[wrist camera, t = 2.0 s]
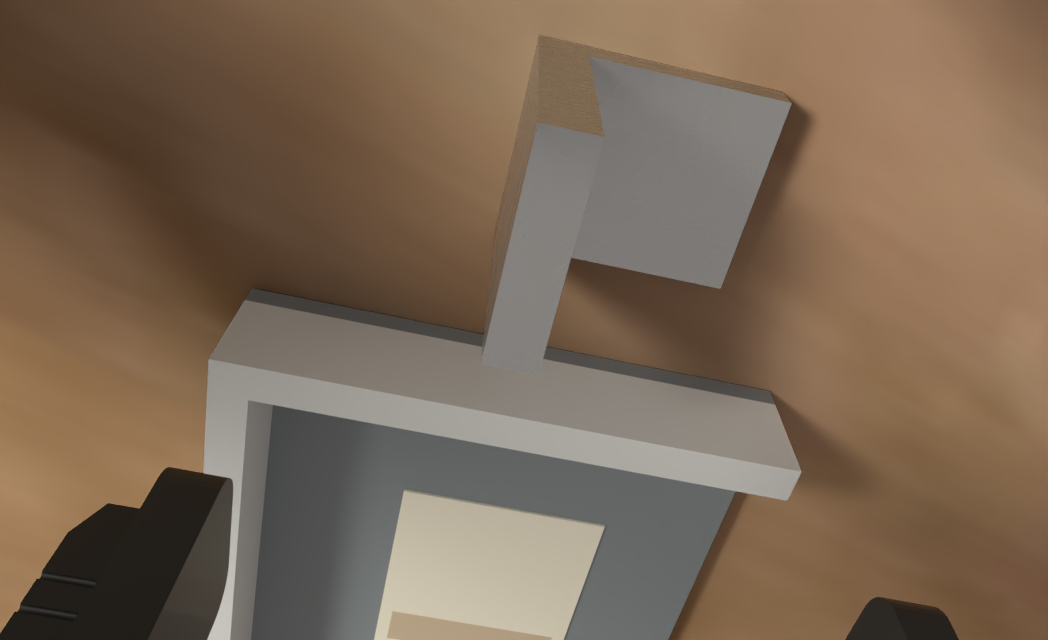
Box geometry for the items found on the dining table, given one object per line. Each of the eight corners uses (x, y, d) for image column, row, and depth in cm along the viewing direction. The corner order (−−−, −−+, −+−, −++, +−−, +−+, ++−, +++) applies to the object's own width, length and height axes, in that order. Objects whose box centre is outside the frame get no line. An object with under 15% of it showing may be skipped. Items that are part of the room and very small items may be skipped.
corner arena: (223, 674, 39) (190, 767, 35) (251, 288, 29) (208, 359, 25) (615, 736, 40) (622, 830, 37) (769, 391, 30) (801, 472, 27)
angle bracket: (495, 225, 27) (480, 364, 21) (538, 34, 24) (537, 122, 18) (714, 271, 28) (769, 420, 21) (781, 91, 25) (872, 196, 18)
